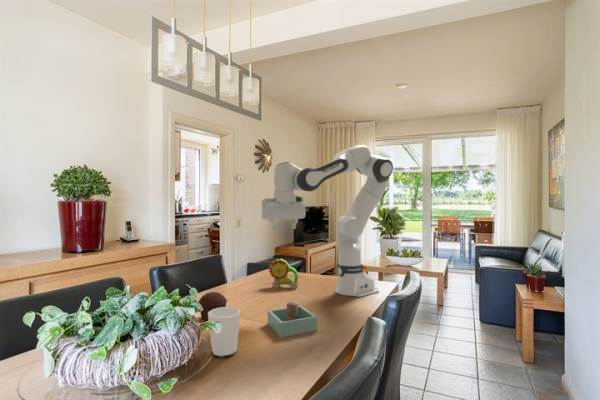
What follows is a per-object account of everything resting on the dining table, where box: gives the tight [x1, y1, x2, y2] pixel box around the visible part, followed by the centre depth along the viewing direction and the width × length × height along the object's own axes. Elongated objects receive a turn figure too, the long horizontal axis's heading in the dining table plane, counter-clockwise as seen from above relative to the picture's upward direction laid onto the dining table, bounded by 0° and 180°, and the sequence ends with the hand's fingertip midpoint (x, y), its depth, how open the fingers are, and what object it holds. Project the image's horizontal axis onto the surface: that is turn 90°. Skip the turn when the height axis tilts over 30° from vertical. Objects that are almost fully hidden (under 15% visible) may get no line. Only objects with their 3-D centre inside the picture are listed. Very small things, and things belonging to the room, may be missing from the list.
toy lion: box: [268, 258, 299, 290], centre depth 178 cm, size 16×6×15 cm, turn 77°
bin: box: [267, 305, 318, 338], centre depth 123 cm, size 14×14×5 cm
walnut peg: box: [286, 301, 299, 321], centre depth 123 cm, size 4×4×8 cm
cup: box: [208, 306, 241, 359], centre depth 102 cm, size 10×10×13 cm
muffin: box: [198, 291, 228, 322], centre depth 132 cm, size 12×11×10 cm
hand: (283, 229), depth 148 cm, fingers open, 8 cm apart
